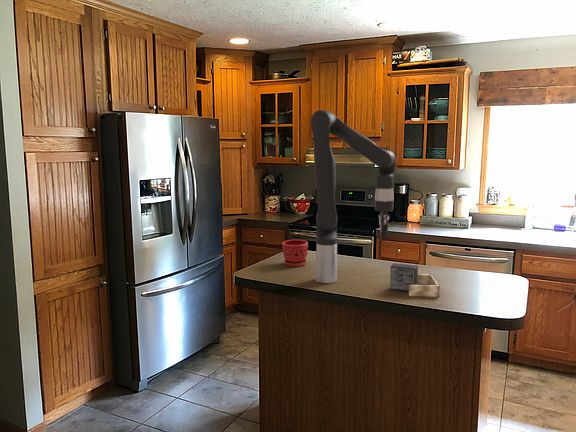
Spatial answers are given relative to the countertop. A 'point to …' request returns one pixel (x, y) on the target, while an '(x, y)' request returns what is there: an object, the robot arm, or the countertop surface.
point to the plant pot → (295, 252)
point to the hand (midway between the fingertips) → (383, 240)
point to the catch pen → (425, 286)
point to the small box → (403, 276)
